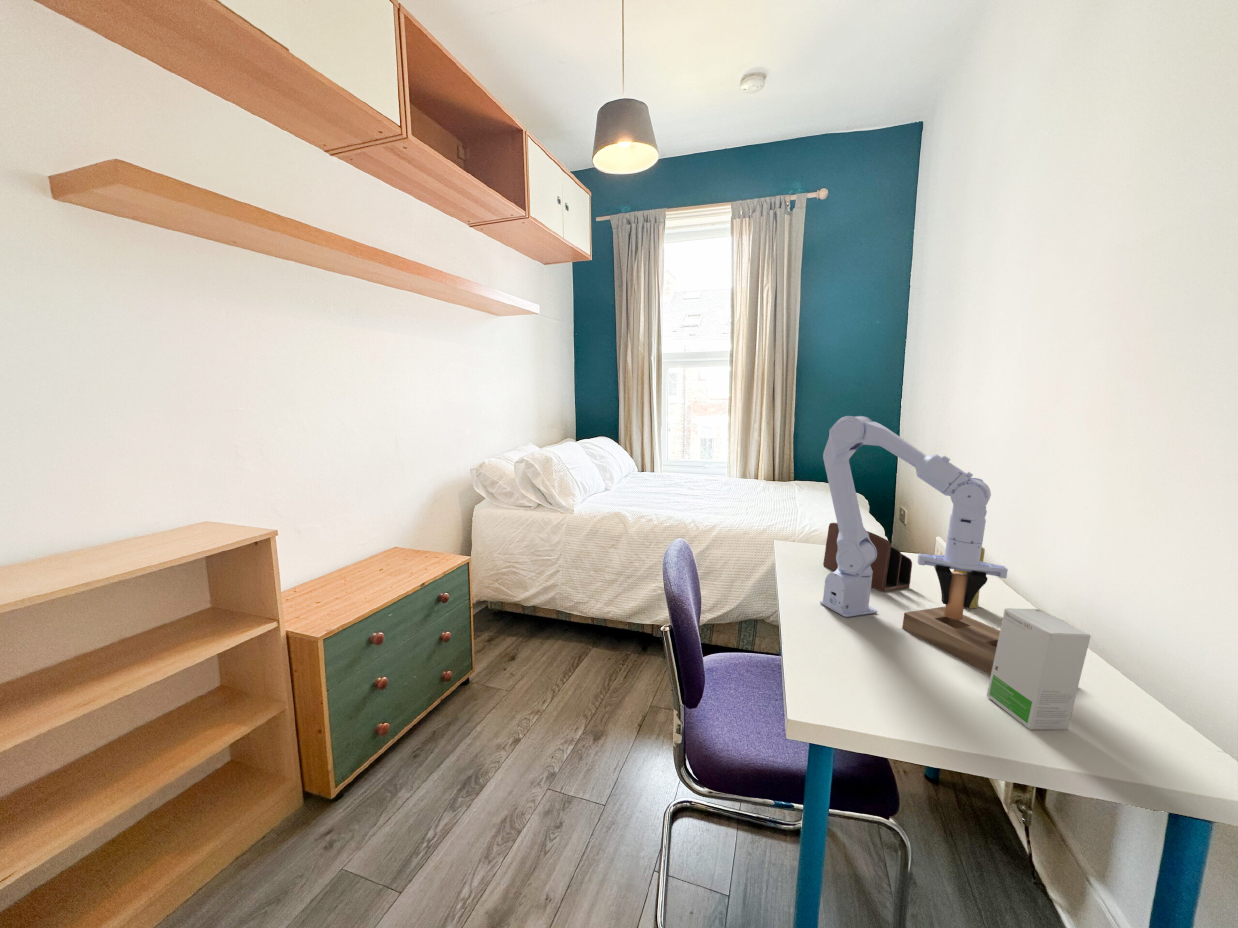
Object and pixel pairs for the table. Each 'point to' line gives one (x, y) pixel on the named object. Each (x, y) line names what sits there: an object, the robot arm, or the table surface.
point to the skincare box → (1037, 668)
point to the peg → (956, 596)
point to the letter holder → (875, 562)
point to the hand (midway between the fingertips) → (955, 604)
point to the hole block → (955, 635)
